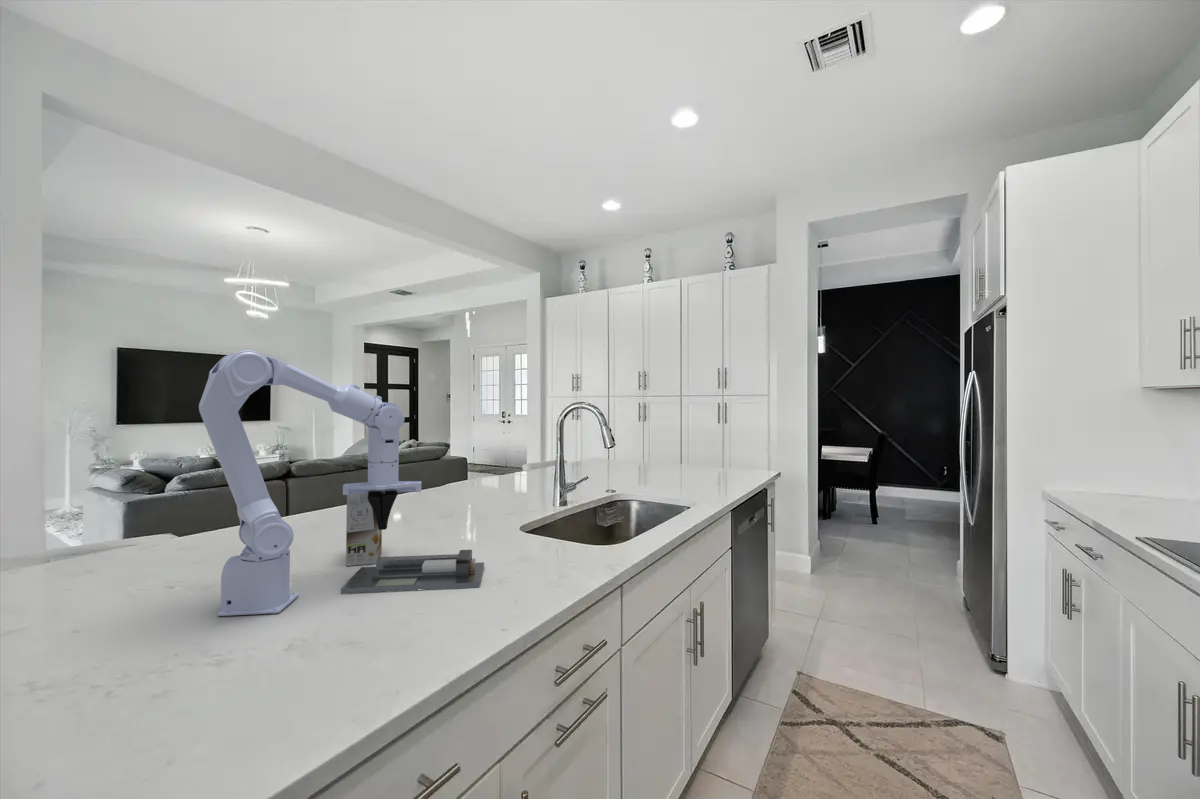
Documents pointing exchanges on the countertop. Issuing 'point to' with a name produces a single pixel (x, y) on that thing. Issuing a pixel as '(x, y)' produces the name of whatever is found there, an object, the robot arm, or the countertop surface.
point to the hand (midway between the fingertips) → (382, 528)
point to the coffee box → (361, 532)
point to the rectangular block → (444, 566)
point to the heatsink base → (413, 574)
